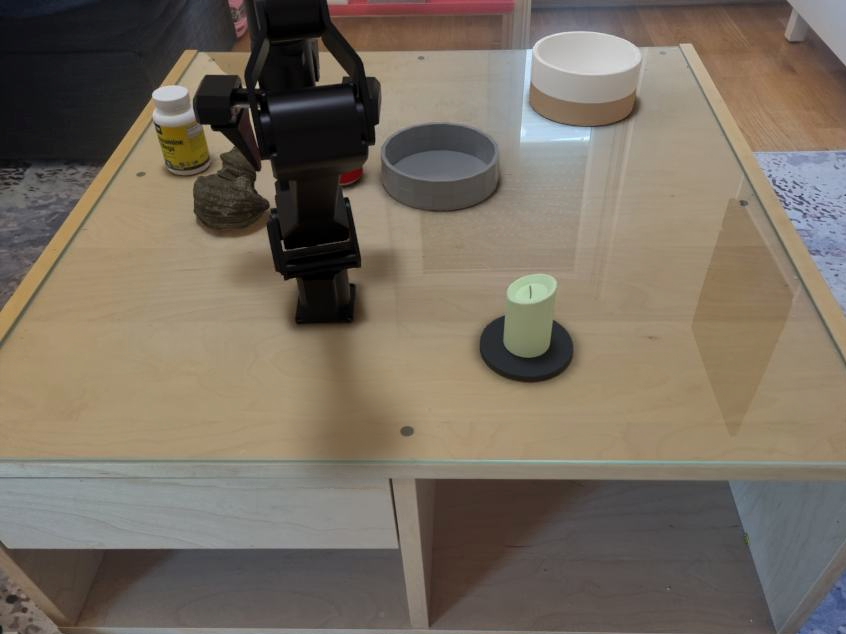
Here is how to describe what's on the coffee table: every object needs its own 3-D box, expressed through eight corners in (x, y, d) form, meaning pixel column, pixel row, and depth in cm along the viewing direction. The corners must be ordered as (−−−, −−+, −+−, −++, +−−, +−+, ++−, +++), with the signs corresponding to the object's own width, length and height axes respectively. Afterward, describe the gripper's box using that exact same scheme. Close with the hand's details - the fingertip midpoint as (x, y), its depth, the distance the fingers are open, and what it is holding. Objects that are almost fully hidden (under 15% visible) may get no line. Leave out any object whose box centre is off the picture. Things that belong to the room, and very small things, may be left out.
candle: (498, 354, 79) (502, 294, 73) (508, 323, 82) (512, 263, 77) (545, 362, 78) (553, 302, 72) (553, 330, 82) (560, 271, 76)
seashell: (295, 181, 93) (272, 143, 100) (205, 152, 86) (186, 114, 92) (260, 254, 98) (240, 214, 104) (171, 234, 90) (155, 192, 97)
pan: (502, 209, 100) (504, 179, 97) (381, 212, 99) (379, 182, 96) (492, 149, 112) (493, 121, 109) (384, 151, 111) (382, 123, 108)
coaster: (579, 380, 77) (580, 374, 77) (483, 383, 77) (483, 377, 76) (564, 316, 85) (565, 310, 84) (476, 318, 84) (476, 313, 84)
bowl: (512, 88, 127) (514, 38, 121) (601, 73, 131) (608, 25, 126) (556, 134, 115) (562, 81, 109) (653, 116, 120) (663, 65, 114)
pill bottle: (157, 170, 107) (135, 96, 99) (188, 151, 111) (168, 78, 103) (191, 181, 105) (170, 106, 97) (220, 161, 109) (203, 88, 101)
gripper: (380, -1, 78) (387, 132, 90) (200, -3, 78) (230, 131, 89) (374, 48, 71) (382, 186, 82) (174, 45, 70) (210, 185, 81)
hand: (300, 170), depth 84 cm, fingers open, 9 cm apart
